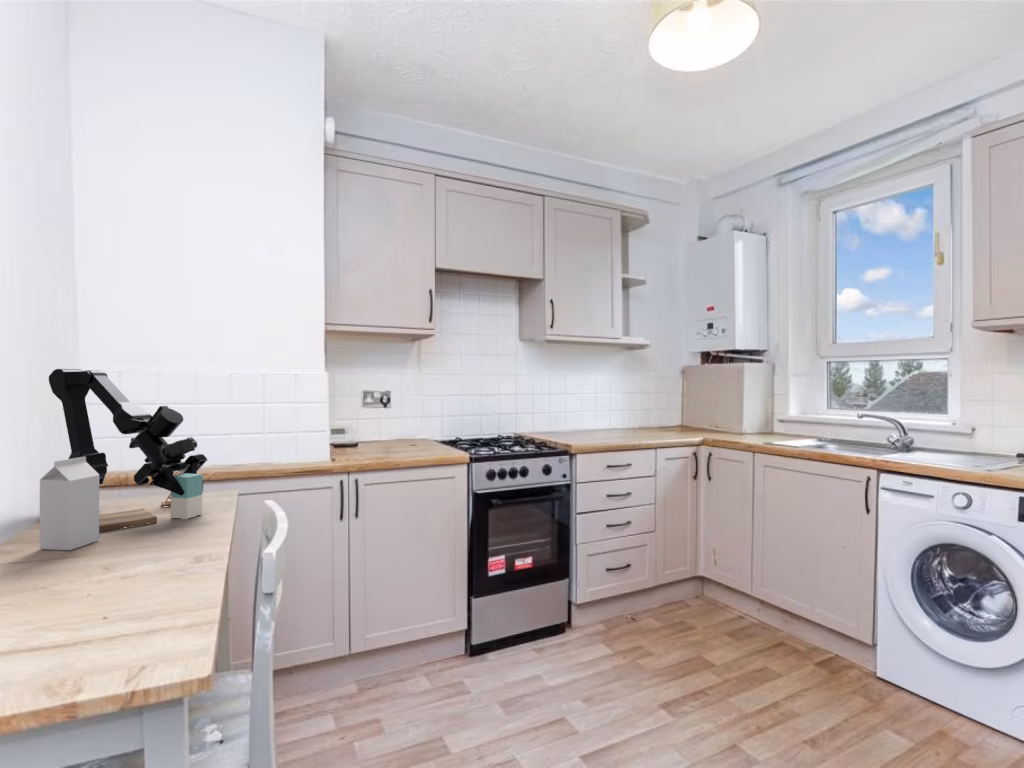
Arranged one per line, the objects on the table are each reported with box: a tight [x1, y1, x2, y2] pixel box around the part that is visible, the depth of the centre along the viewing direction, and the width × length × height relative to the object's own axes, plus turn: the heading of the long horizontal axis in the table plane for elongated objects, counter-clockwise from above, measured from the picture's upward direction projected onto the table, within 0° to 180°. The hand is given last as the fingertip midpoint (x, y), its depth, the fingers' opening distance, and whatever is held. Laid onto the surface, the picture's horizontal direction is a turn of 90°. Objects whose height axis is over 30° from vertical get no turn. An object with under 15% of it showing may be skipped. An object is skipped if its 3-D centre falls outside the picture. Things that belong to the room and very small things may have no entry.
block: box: [170, 473, 203, 520], centre depth 137 cm, size 5×5×11 cm
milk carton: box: [39, 457, 100, 551], centre depth 113 cm, size 7×7×19 cm
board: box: [99, 508, 158, 533], centre depth 131 cm, size 12×12×2 cm
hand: (191, 492), depth 137 cm, fingers closed on block, 5 cm apart
